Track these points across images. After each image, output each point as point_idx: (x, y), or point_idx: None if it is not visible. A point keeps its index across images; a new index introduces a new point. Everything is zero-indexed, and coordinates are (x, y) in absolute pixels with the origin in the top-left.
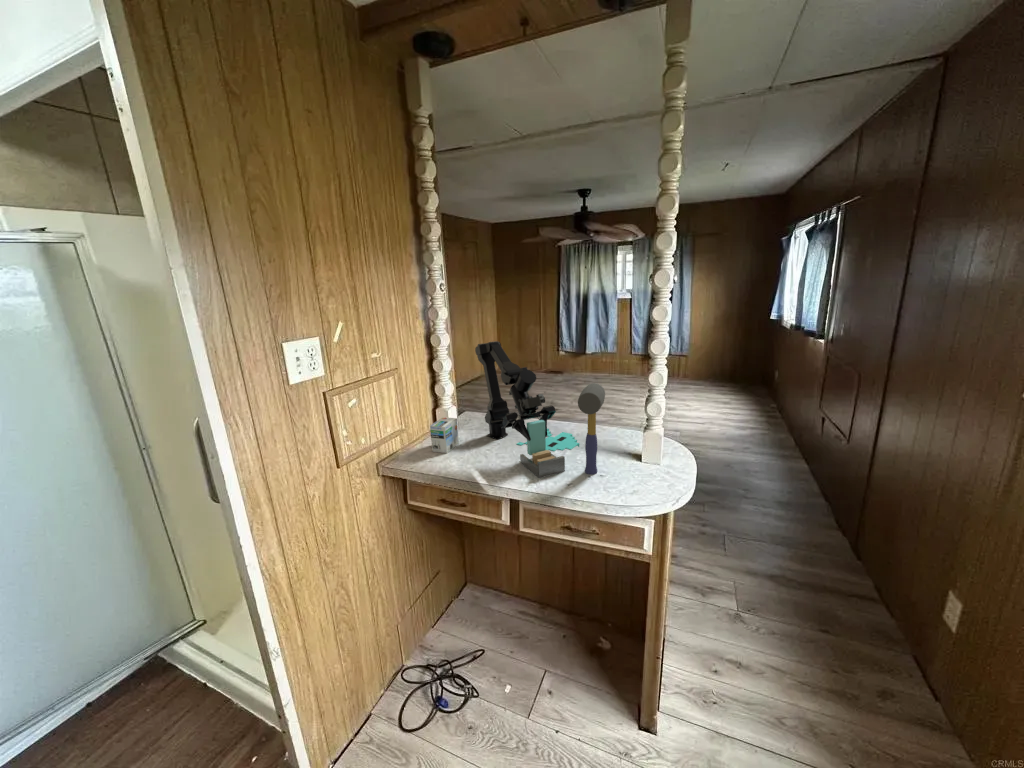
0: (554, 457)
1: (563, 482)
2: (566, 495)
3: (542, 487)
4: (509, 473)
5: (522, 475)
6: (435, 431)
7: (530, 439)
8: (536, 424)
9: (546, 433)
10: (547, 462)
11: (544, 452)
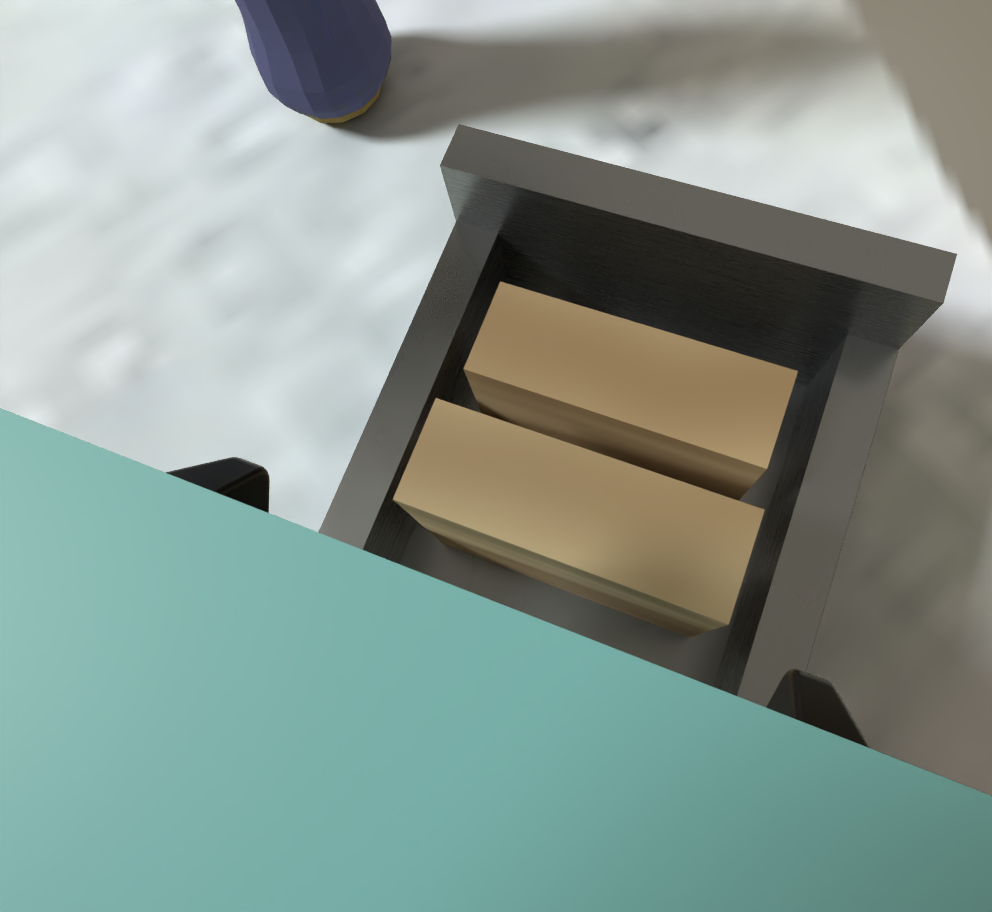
0: (493, 311)
1: None
2: (831, 30)
3: None
4: None
5: (864, 682)
6: None
7: (803, 671)
8: (437, 583)
9: (204, 475)
10: (776, 216)
11: (523, 473)
